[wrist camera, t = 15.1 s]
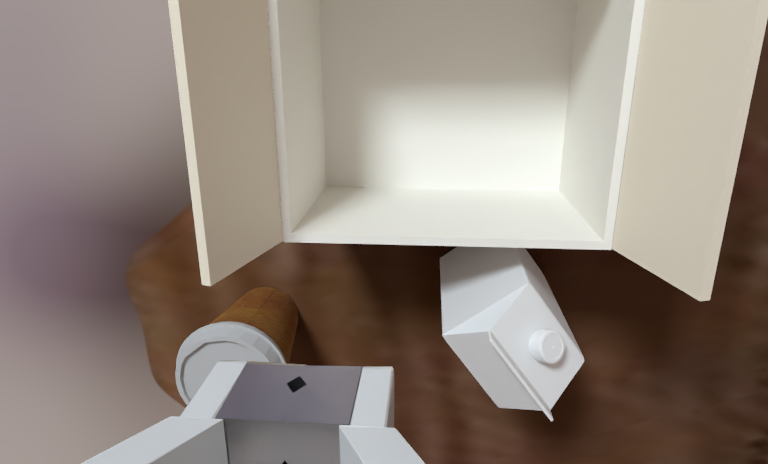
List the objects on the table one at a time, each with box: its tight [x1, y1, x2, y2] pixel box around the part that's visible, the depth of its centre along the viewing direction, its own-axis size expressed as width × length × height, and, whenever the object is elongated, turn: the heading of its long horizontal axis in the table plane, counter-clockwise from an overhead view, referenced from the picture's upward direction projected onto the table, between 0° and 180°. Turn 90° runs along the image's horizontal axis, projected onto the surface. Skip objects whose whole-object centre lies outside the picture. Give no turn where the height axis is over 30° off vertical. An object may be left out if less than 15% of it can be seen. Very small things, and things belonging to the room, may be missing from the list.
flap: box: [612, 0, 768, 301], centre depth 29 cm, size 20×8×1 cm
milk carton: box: [440, 246, 584, 421], centre depth 43 cm, size 7×7×19 cm
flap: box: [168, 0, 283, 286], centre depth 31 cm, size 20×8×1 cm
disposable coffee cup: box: [175, 287, 299, 405], centre depth 50 cm, size 10×10×12 cm
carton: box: [267, 0, 646, 250], centre depth 41 cm, size 20×22×14 cm
